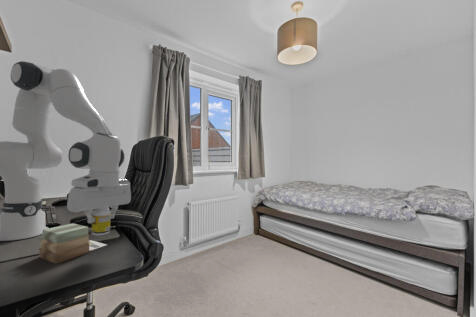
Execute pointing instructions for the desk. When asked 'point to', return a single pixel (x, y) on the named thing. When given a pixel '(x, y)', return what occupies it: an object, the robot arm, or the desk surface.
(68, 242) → the brick tower
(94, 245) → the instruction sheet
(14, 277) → the desk surface
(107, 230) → the supplement bottle
